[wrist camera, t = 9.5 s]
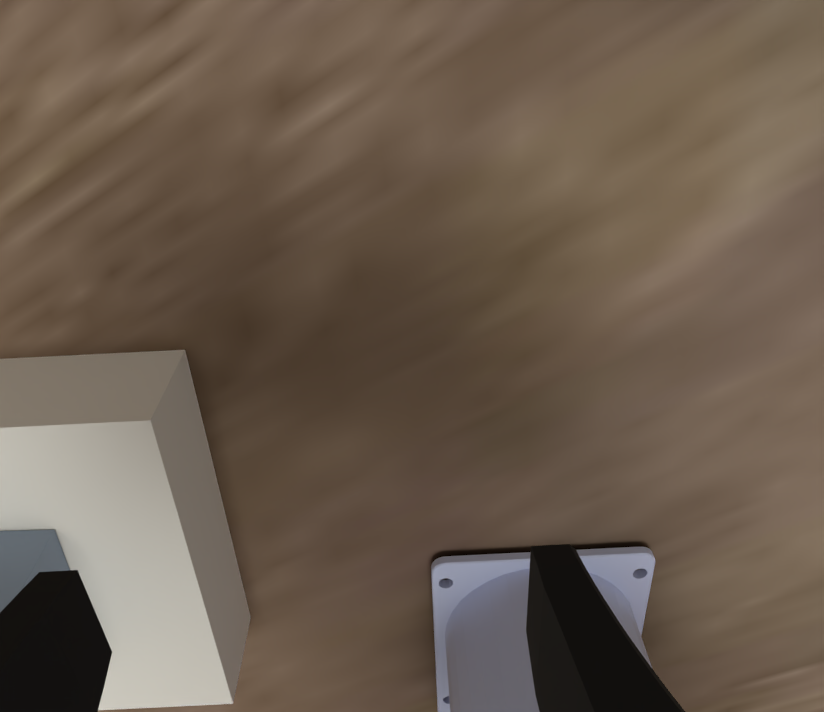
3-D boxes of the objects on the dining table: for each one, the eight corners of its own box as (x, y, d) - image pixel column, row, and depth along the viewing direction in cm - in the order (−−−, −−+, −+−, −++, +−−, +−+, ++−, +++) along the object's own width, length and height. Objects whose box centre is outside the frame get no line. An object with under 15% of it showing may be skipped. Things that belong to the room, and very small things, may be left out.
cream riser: (252, 607, 28) (232, 703, 24) (-54, 622, 28) (-117, 720, 24) (189, 341, 22) (150, 420, 18) (-207, 361, 22) (-320, 443, 18)
